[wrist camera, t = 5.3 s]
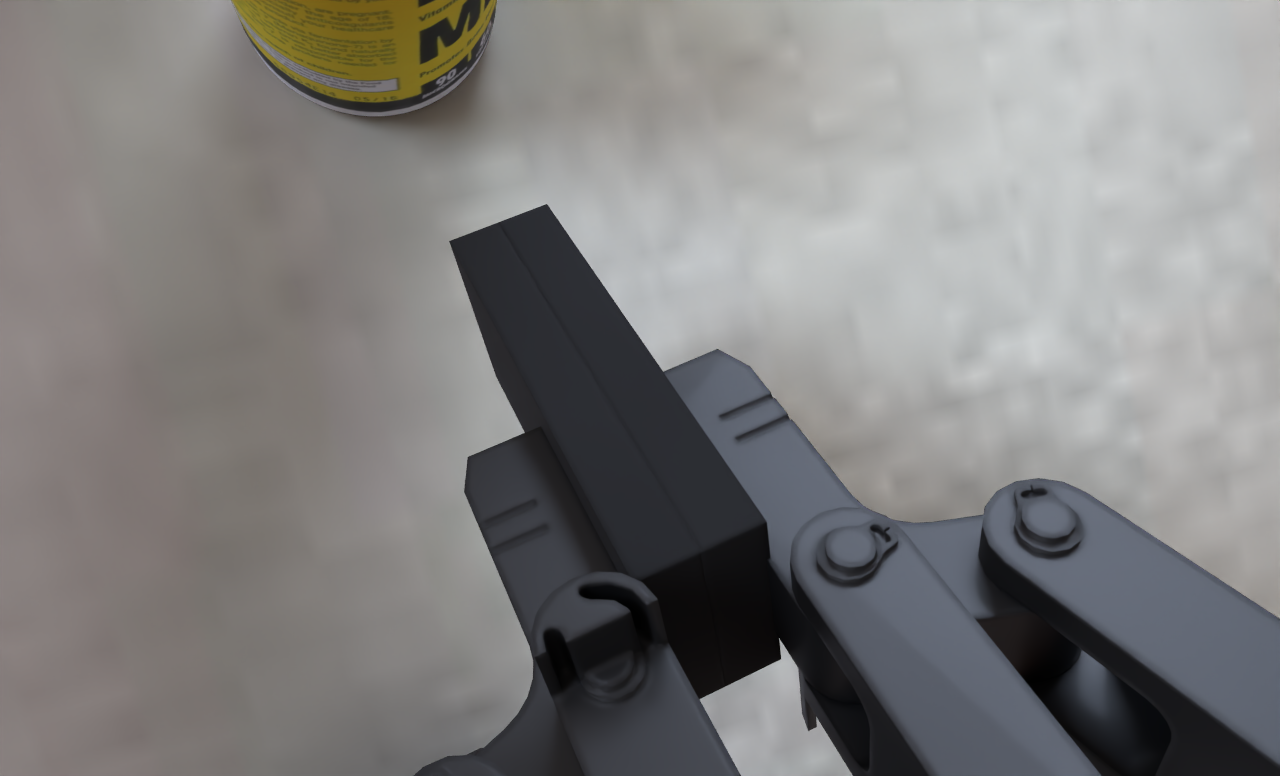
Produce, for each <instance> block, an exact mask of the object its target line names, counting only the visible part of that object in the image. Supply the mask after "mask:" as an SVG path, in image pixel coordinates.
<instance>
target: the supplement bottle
mask: <svg viewBox="0 0 1280 776" xmlns="http://www.w3.org/2000/svg"><path fill="white" fill-rule="evenodd" d="M231 2H232V4H233V6H234V8H235V10H236V12H237V15H238V17H239V19H240V21H241V24H242V26H243V29H244V30H245V32H246V34H247V36H248V38H249V40H250V42H251V43H252V45H253V47H254V49H255V50H256V52H257V53H258V55H259V56H260V57H261V59H262V60H263V61H264V63H265V64H266V65H267V67H268V68H269V69H270V70H271V71H272V72H273V73H274V74H275V75H276V76H277V77H278V78H279V79H280V80H281V81H282V82H284V83H285V84H286V85H287V86H289V87H290V88H291V89H292V90H294V91H295V92H297V93H298V94H300V95H302V96H303V97H305V98H307V99H309V100H311V101H313V102H315V103H317V104H319V105H321V106H324V107H326V108H329V109H332V110H336V111H339V112H343V113H348V114H353V115H360V116H390V115H397V114H402V113H407V112H410V111H414V110H417V109H420V108H423V107H425V106H427V105H429V104H431V103H433V102H435V101H437V100H439V99H440V98H442V97H443V96H445V95H447V94H448V93H449V92H451V91H452V90H453V89H454V88H456V87H457V86H458V85H459V84H460V83H461V82H462V81H463V80H464V79H465V78H466V77H467V76H468V74H469V73H470V72H471V71H472V69H473V68H474V67H475V65H476V64H477V62H478V61H479V59H480V57H481V55H482V53H483V52H484V50H485V48H486V45H487V43H488V40H489V37H490V34H491V31H492V27H493V22H494V17H495V11H496V4H497V0H231Z"/></svg>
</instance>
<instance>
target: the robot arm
mask: <svg viewBox="0 0 1280 776" xmlns="http://www.w3.org/2000/svg"><path fill="white" fill-rule="evenodd" d="M449 242H450V244H451V247H452V250H453V253H454V256H455V259H456V262H457V265H458V268H459V270H460V273H461V276H462V279H463V282H464V285H465V288H466V291H467V293H468V296H469V299H470V302H471V305H472V308H473V311H474V314H475V317H476V319H477V322H478V325H479V328H480V331H481V334H482V337H483V340H484V343H485V345H486V348H487V351H488V354H489V357H490V360H491V363H492V366H493V368H494V371H495V374H496V377H497V379H498V381H499V383H500V385H501V387H502V389H503V391H504V393H505V394H506V396H507V398H508V400H509V402H510V404H511V406H512V408H513V410H514V412H515V414H516V416H517V418H518V420H519V422H520V424H521V426H522V428H523V430H524V432H525V433H524V434H521V435H519V436H517V437H514V438H512V439H509V440H507V441H505V442H502V443H500V444H498V445H495V446H493V447H491V448H488V449H486V450H483V451H481V452H479V453H476V454H474V455H472V456H469V457H468V460H467V470H466V480H465V489H464V492H465V495H466V497H467V499H468V502H469V504H470V506H471V509H472V511H473V514H474V516H475V518H476V521H477V523H478V525H479V528H480V530H481V532H482V535H483V537H484V540H485V542H486V544H487V547H488V549H489V551H490V554H491V556H492V558H493V561H494V563H495V565H496V568H497V570H498V573H499V575H500V577H501V580H502V582H503V584H504V587H505V589H506V591H507V594H508V596H509V598H510V601H511V603H512V606H513V608H514V610H515V613H516V615H517V617H518V620H519V622H520V624H521V627H522V629H523V631H524V634H525V636H526V639H527V641H528V643H529V646H530V650H531V653H532V657H533V680H532V684H531V687H530V691H529V694H528V697H527V699H526V701H525V703H524V704H523V706H522V708H521V710H520V711H519V713H518V714H517V716H516V717H515V718H514V719H513V720H512V721H511V722H510V724H509V725H508V726H507V727H506V728H505V729H504V730H503V731H502V732H501V733H500V734H499V735H498V736H496V737H495V738H494V739H493V740H492V741H491V742H490V743H489V744H488V745H487V746H486V747H484V748H483V749H482V750H481V751H480V752H479V753H478V754H477V755H476V756H475V755H462V756H447V757H445V758H443V759H441V760H438V761H436V762H434V763H431V764H429V765H427V766H425V767H423V768H422V769H421V770H420V771H418V772H417V773H416V774H415V775H414V776H741V775H740V773H739V772H738V770H737V768H736V766H735V764H734V762H733V761H732V759H731V757H730V755H729V753H728V751H727V749H726V748H725V746H724V744H723V742H722V740H721V738H720V737H719V735H718V733H717V731H716V729H715V727H714V726H713V724H712V722H711V720H710V718H709V716H708V715H707V713H706V711H705V709H704V707H703V705H702V704H701V702H700V700H699V699H701V698H703V697H705V696H707V695H709V694H711V693H713V692H715V691H717V690H719V689H721V688H723V687H725V686H727V685H729V684H731V683H733V682H735V681H737V680H739V679H741V678H743V677H745V676H747V675H749V674H752V673H754V672H756V671H758V670H760V669H762V668H764V667H766V666H768V665H770V664H772V663H774V662H776V661H778V660H780V659H781V653H780V644H779V638H780V640H781V641H782V643H783V644H784V646H785V648H786V649H787V651H788V652H789V654H790V655H791V657H792V659H793V660H794V662H795V663H796V665H797V666H798V669H799V681H800V693H801V705H802V714H803V717H804V720H805V723H806V725H807V728H808V731H810V730H812V729H813V728H815V727H817V724H816V717H817V718H818V720H819V722H820V723H821V725H822V726H823V728H824V730H825V731H826V733H827V734H828V736H829V738H830V739H831V741H832V742H833V744H834V746H835V747H836V749H837V751H838V752H839V754H840V755H841V757H842V759H843V760H844V762H845V763H846V765H847V767H848V768H849V770H850V771H851V773H852V775H853V776H1280V619H1279V618H1278V617H1276V616H1274V615H1273V614H1271V613H1270V612H1268V611H1267V610H1265V609H1264V608H1262V607H1261V606H1259V605H1258V604H1256V603H1255V602H1253V601H1252V600H1250V599H1248V598H1247V597H1245V596H1244V595H1242V594H1241V593H1239V592H1238V591H1236V590H1235V589H1233V588H1232V587H1230V586H1229V585H1227V584H1226V583H1224V582H1222V581H1221V580H1219V579H1218V578H1216V577H1215V576H1213V575H1212V574H1210V573H1209V572H1207V571H1206V570H1204V569H1203V568H1201V567H1200V566H1198V565H1196V564H1195V563H1193V562H1192V561H1190V560H1189V559H1187V558H1186V557H1184V556H1183V555H1181V554H1180V553H1178V552H1177V551H1175V550H1174V549H1172V548H1170V547H1169V546H1167V545H1166V544H1164V543H1163V542H1161V541H1160V540H1158V539H1157V538H1155V537H1154V536H1152V535H1151V534H1149V533H1147V532H1146V531H1144V530H1143V529H1141V528H1140V527H1138V526H1137V525H1135V524H1134V523H1132V522H1131V521H1129V520H1128V519H1126V518H1125V517H1123V516H1121V515H1120V514H1118V513H1117V512H1115V511H1114V510H1112V509H1111V508H1109V507H1108V506H1106V505H1105V504H1103V503H1102V502H1100V501H1099V500H1097V499H1095V498H1094V497H1092V496H1091V495H1089V494H1088V493H1086V492H1084V491H1082V490H1080V489H1078V488H1075V487H1073V486H1071V485H1069V484H1067V483H1065V482H1060V481H1054V480H1047V479H1040V478H1037V479H1030V480H1023V481H1016V482H1014V483H1012V484H1010V485H1008V486H1006V487H1004V488H1002V489H1000V490H999V491H997V492H996V493H995V494H994V496H993V497H992V498H991V499H990V501H989V502H988V503H987V505H986V506H985V509H984V515H979V516H972V517H965V518H958V519H951V520H944V521H937V522H924V523H910V522H903V521H897V520H893V519H890V518H888V517H887V516H885V515H882V514H879V513H877V512H874V511H871V510H870V509H868V508H866V507H865V506H863V505H862V504H861V503H860V502H859V501H858V500H857V499H856V498H854V497H853V496H852V495H851V494H850V492H849V491H848V490H847V489H846V487H845V486H844V485H843V483H842V482H841V481H840V480H839V478H838V477H837V476H836V475H835V473H834V472H833V471H832V470H831V468H830V467H829V466H828V465H827V463H826V462H825V461H824V459H823V458H822V457H821V456H820V454H819V453H818V452H817V451H816V449H815V448H814V447H813V446H812V444H811V443H810V442H809V440H808V439H807V438H806V437H805V435H804V434H803V433H802V432H801V430H800V429H799V428H798V427H797V425H796V424H795V423H794V422H793V420H790V419H789V417H788V414H787V413H786V411H785V410H784V409H783V408H782V406H781V405H780V404H779V403H778V401H777V400H776V399H775V398H774V399H773V397H772V395H771V392H770V391H769V390H768V389H767V387H766V386H765V385H764V384H763V382H762V381H761V380H760V379H759V377H758V376H757V375H756V373H755V372H754V371H753V370H752V368H751V367H750V366H748V365H746V364H744V363H742V362H741V361H739V360H737V359H735V358H733V357H731V356H729V355H728V354H726V353H724V352H722V351H720V350H718V349H716V350H714V351H712V352H709V353H707V354H705V355H702V356H700V357H698V358H695V359H693V360H690V361H688V362H686V363H683V364H681V365H679V366H676V367H674V368H671V369H669V370H667V371H664V372H663V371H662V370H661V368H660V367H659V365H658V364H657V362H656V361H655V359H654V358H653V357H652V355H651V354H650V352H649V351H648V349H647V348H646V346H645V345H644V344H643V342H642V341H641V339H640V338H639V336H638V335H637V333H636V332H635V331H634V329H633V328H632V326H631V325H630V323H629V322H628V320H627V319H626V318H625V316H624V315H623V313H622V312H621V310H620V309H619V307H618V306H617V305H616V303H615V302H614V300H613V299H612V297H611V296H610V294H609V293H608V292H607V290H606V289H605V287H604V286H603V284H602V283H601V282H600V280H599V279H598V277H597V276H596V274H595V273H594V271H593V270H592V269H591V267H590V266H589V264H588V263H587V261H586V260H585V258H584V257H583V256H582V254H581V253H580V251H579V250H578V248H577V247H576V245H575V244H574V243H573V241H572V240H571V238H570V237H569V235H568V234H567V232H566V231H565V230H564V228H563V227H562V225H561V224H560V222H559V221H558V219H557V218H556V217H555V215H554V214H553V212H552V211H551V209H550V208H549V206H548V205H547V204H546V205H543V206H541V207H538V208H535V209H533V210H530V211H528V212H525V213H522V214H520V215H517V216H514V217H512V218H509V219H507V220H504V221H501V222H499V223H496V224H493V225H491V226H488V227H486V228H483V229H480V230H478V231H475V232H472V233H470V234H467V235H465V236H462V237H459V238H457V239H454V240H451V241H449Z"/></svg>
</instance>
